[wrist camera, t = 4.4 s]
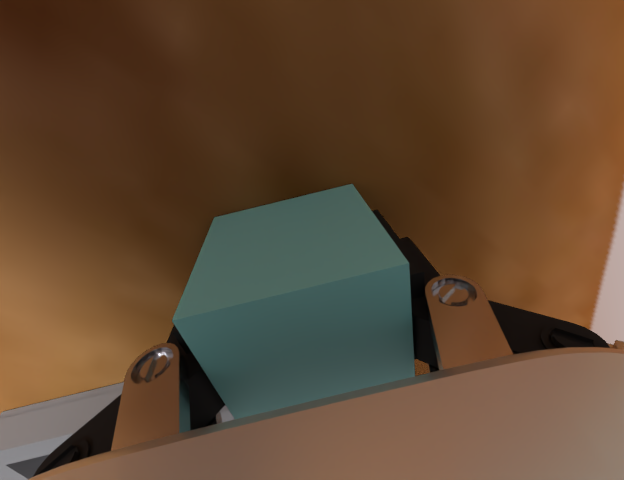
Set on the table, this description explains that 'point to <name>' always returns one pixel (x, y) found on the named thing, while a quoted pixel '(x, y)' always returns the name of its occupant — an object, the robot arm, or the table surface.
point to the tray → (50, 428)
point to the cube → (298, 303)
